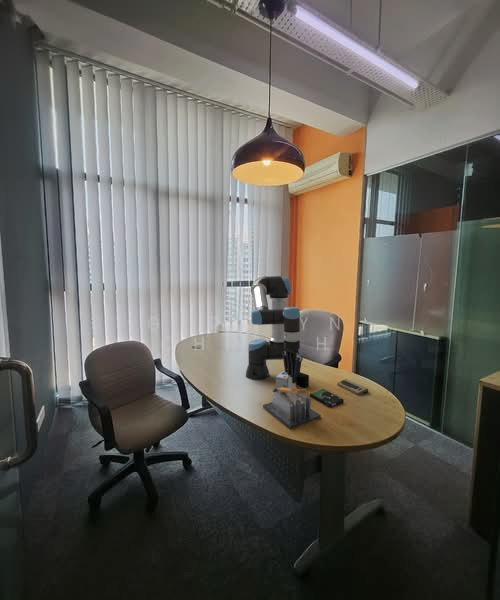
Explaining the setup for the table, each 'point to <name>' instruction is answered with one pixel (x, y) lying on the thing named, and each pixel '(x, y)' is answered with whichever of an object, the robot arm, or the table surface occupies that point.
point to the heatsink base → (291, 422)
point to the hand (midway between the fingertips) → (292, 388)
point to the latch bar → (295, 391)
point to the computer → (353, 387)
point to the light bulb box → (282, 380)
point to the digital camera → (302, 380)
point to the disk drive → (327, 398)
